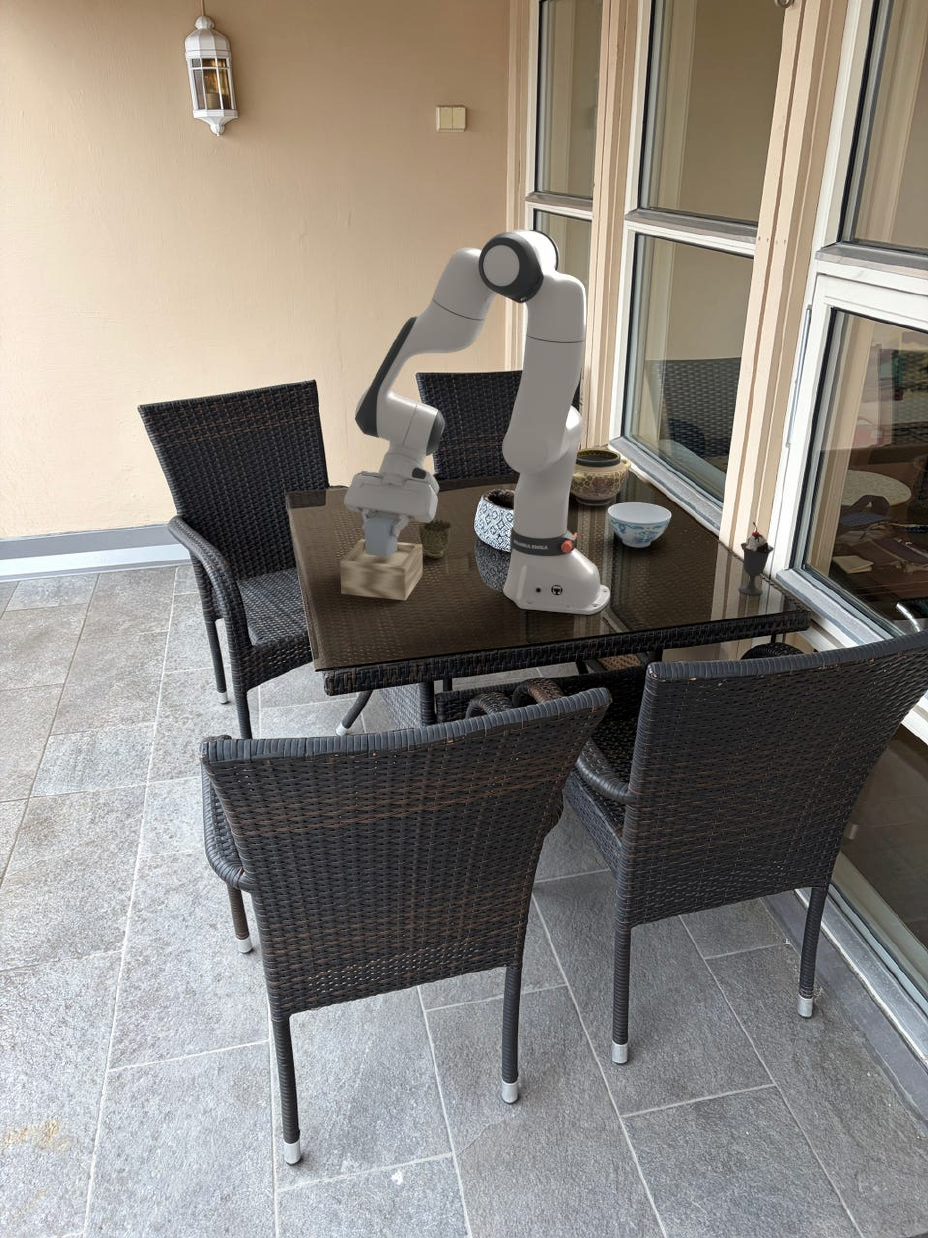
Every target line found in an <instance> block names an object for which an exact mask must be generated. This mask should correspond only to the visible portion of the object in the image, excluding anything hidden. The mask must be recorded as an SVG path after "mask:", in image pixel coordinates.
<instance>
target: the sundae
mask: <svg viewBox="0 0 928 1238" xmlns="http://www.w3.org/2000/svg"><path fill="white" fill-rule="evenodd" d="M752 524H753V526H754V527H755V531H753V532H752V534H751V536H750V537H749V538H748V539H747V540H746V542H742V543H741V544H740V547H741V550H742V551H743V568H744V569H743V570H744V572H746V574H747V575H748V576H749V580H748V583H747V585H742V586H739V587H738V591H739V592H740V593H741V594H744V595H747V596H759V595H762V594H763V590H762V589H761V588H760V587H758V586H756V584H755V583H756V577H758V576H760V575H761V574H762V573H764V570H765V568H766V565H767V562H768V559H769V556H770V553H772V552H773V551H774V549H775V548H774V547H773V546H771V545H770V544H769V543H768V542H767V540H766V537H765V536H764V535H763V534H760V532H759V531H758V527H757V525H756V522H754V521H753V522H752Z"/></svg>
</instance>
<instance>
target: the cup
mask: <svg viewBox="0 0 928 1238" xmlns="http://www.w3.org/2000/svg"><path fill="white" fill-rule="evenodd" d="M418 529H419V537H420V543H421V544H422V549H424V550H425V551H427V552H426V554H427V557H428V558H430V559H436V560H437V559H440V558H442V557H443V555H444V551H445V550H447V548H448V547H449V544H450V540H451V531H452V523H451V521H447V520H445V521H443V519H438V518H437V519H435V521H434V519H433V520H432V521H431V522H429V523H425V522H420V523H419V525H418Z"/></svg>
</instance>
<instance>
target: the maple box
mask: <svg viewBox="0 0 928 1238" xmlns="http://www.w3.org/2000/svg"><path fill="white" fill-rule="evenodd" d="M423 559H424V558H423V546H422V543H421V544H420V543H413V542H411V543H410V542H400V541H397V550H396V551H395V552H394V553H392V554H391V555H390V556H388V557H387V558H386V557H380V556H375V555H369V554H366V549H365V538H360V539H359V541H358V542H357V543H356V544H355V545H354V546H353V547H352V548H351V549H350V550H349V552H347V553H346V554H345V556H343V558H342V559H340V561H339V569H340V589H341V590H340V592H341V595H349V596H350V595H351V596H358V597H359V596H361V597H370V598H379V599H380V598H381V599H389V600H390V599H391V600H400V601H406V600H407V599H408V597H409V596H410V594H411V593H412V591H413V590H414V588H415V587H416V585H417V584H418V583H419V581H420V580H421V578H422V577H423V573H424V571H423V569H424V568H423Z"/></svg>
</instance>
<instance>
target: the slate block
mask: <svg viewBox="0 0 928 1238" xmlns="http://www.w3.org/2000/svg"><path fill="white" fill-rule="evenodd" d="M397 524H398V518H393V517H386V516H380V515H374V516H372V517H371V518H369V520H368V521H366V522H365V532H364V539H365V549H366V554H369V555H375V556H380V557H386V558H387V557H388V556H390V555H391V554H392V553H394V552H395V551H396V550H397V542H398V537H394V536H391V535H390V530H391V526H396V525H397Z"/></svg>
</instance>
